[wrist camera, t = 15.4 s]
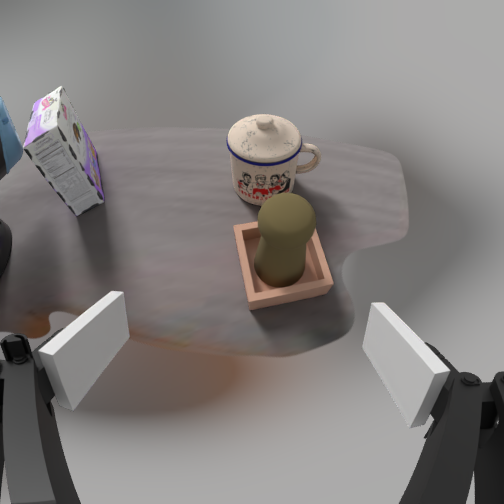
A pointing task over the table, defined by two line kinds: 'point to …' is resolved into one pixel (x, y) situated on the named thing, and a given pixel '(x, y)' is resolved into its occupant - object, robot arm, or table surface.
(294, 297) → the tray
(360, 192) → the table surface
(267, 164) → the teacup with lid
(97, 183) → the candy box
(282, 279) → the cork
